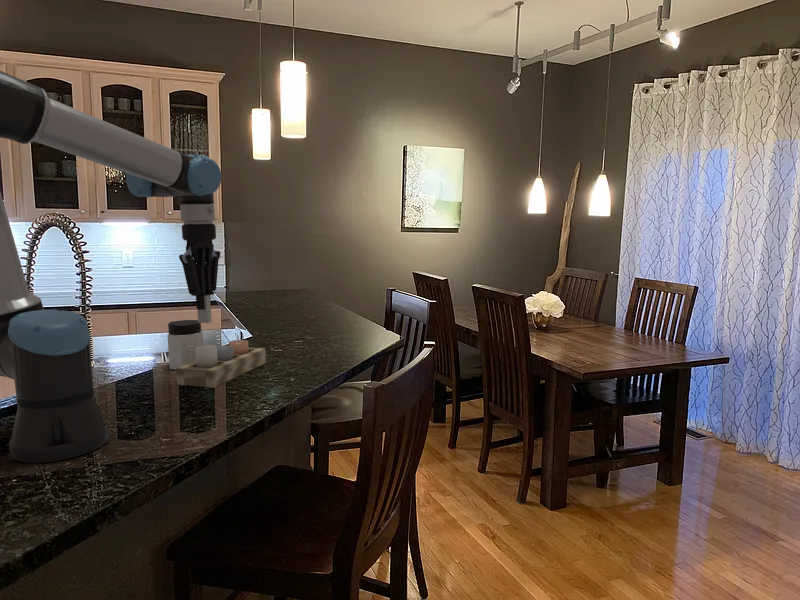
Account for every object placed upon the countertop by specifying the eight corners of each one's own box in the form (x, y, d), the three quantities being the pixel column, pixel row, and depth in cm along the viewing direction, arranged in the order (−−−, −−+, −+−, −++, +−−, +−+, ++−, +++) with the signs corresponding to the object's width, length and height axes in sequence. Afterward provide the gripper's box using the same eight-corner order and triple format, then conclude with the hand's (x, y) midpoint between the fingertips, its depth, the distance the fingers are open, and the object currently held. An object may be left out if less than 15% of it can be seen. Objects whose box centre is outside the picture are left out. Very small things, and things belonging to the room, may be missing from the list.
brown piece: (242, 363, 156) (241, 344, 156) (225, 362, 158) (224, 343, 157) (252, 358, 161) (251, 340, 160) (236, 357, 163) (235, 339, 162)
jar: (173, 373, 154) (170, 326, 152) (166, 366, 161) (163, 322, 159) (209, 367, 159) (206, 322, 157) (200, 361, 166) (197, 318, 164)
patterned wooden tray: (213, 387, 140) (212, 371, 140) (177, 384, 143) (176, 368, 143) (266, 362, 163) (265, 348, 162) (233, 360, 166) (233, 346, 165)
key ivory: (209, 370, 143) (208, 350, 142) (192, 369, 144) (190, 349, 144) (222, 365, 148) (221, 345, 147) (204, 364, 149) (203, 344, 148)
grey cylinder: (227, 370, 150) (226, 350, 149) (209, 368, 151) (208, 349, 151) (238, 365, 155) (237, 346, 154) (221, 363, 156) (220, 344, 155)
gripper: (194, 223, 134) (201, 328, 137) (228, 222, 146) (233, 318, 150) (166, 223, 136) (173, 326, 140) (201, 222, 148) (207, 317, 152)
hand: (204, 322), depth 145 cm, fingers closed
